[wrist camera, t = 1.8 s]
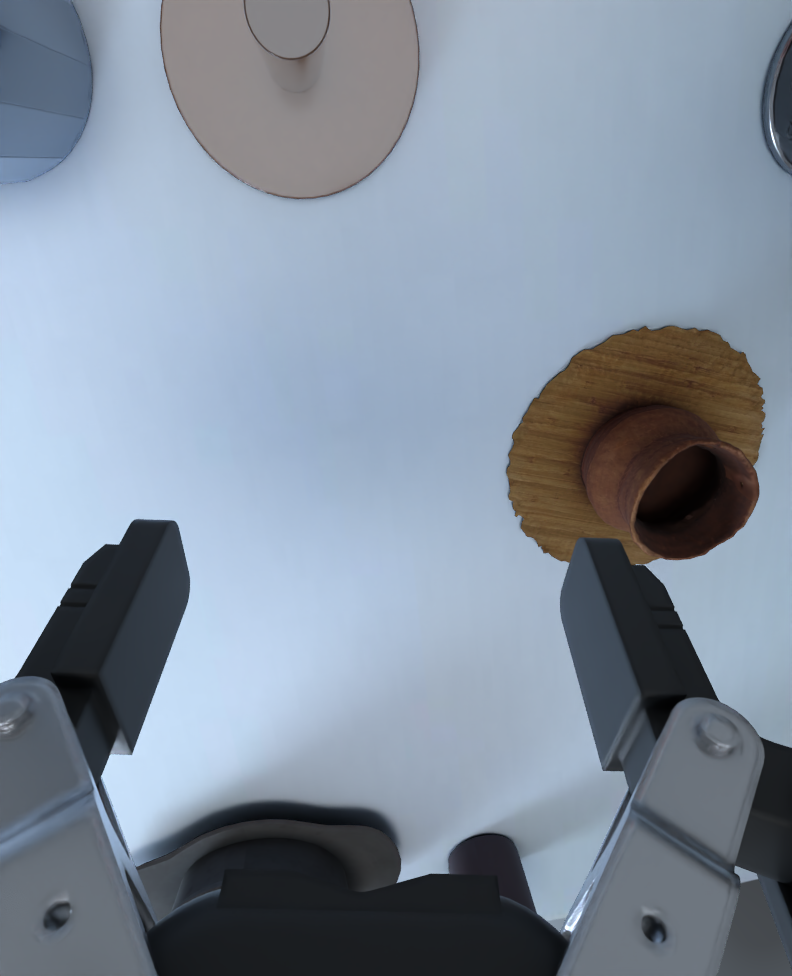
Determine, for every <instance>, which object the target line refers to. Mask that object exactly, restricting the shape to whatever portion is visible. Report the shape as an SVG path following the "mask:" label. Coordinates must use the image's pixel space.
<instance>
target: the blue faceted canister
mask: <svg viewBox="0 0 792 976" xmlns="http://www.w3.org/2000/svg"><path fill="white" fill-rule="evenodd" d="M91 97H92V70H91V60H90V55H89V50H88V45H87V41H86V37H85V34H84V31H83V28H82V25H81V22H80V20H79V17H78V15H77V13H76V10H75V8H74V6H73V4H72V1H71V0H0V184H6V183H17V182H27V181H30V180H32V179H33V178H35V177H38V176H40V175H42V174H44V173H46V172H47V171H49V170H51V169H52V168H54V167H55V166H56V165H58V164H59V163H60V162H61V161H62V160H63V159H64V158H65V157H66V156H67V155H68V154H69V153H70V152H71V151H72V149H73V148H74V146H75V145H76V143H77V142H78V140H79V138H80V136H81V134H82V132H83V130H84V127H85V125H86V121H87V118H88V114H89V111H90V104H91Z"/></svg>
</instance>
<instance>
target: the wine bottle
mask: <svg viewBox="0 0 792 976" xmlns="http://www.w3.org/2000/svg"><path fill="white" fill-rule="evenodd" d="M449 874H463V875H497V876H498V884H499V893H500V896H503V897H506V898H509V899H511V900H513V901H515V902H517V903H519V904H521V905H523V906H526V907H527V908H529V909H530V910H532V911H533V912H535V913H536V909H535V906H534V903H533V900H532V896H531V893H530V890H529V886H528V883H527V880H526V877H525V873H524V870H523V867H522V864H521V860H520V857H519V854H518V851H517V849H516V847H515V845H514V844H513V842H512V841H511V840H509V839H508V838H506V837H503V836H498V835H484V836H479V837H475V838H472V839H469V840H467V841H465V842H463V843H462V844H460V845H459V846H457V847H456V848H455V849H454V850H453V852H452V853H451V855H450V857H449ZM536 914H537V913H536Z"/></svg>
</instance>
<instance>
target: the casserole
mask: <svg viewBox="0 0 792 976" xmlns="http://www.w3.org/2000/svg"><path fill="white" fill-rule="evenodd" d="M136 869H137V872H138V874H139V877H140V879H141V881H142V884H143V886H144V888H145V891H146V893H147V895H148V898H149V900H150V902H151V905H152V907H153V910H154V912H155V915H156V918H157V920H158V922H159V921H160V920H161V919H163V918H164V917H165V916H167V915H168V914H170V913H171V912H172V911H174V910H175V909H176V908H178V907H180V906H182V905H184V904H185V903H187V902H189V901H191V900H192V899H194V898H197V897H199V896H202V895H204V894H206V893H209V892H212V891H215V890H219V889H221V886H222V881H223V876H224V871H225V869H258V870H293V871H296V872H299V873H302V874H305V875H308V876H311V877H314V878H317V879H320V880H323V881H326V882H329V883H332V884H335V885H338V886H341V887H344V888H347V889H350V890H353V891H357V892H366V891H371V890H374V889H378V888H381V887H385V886H389V885H392V884H396V882H397V880H398V877H399V874H400V871H401V858H400V855H399V852H398V849H397V847H396V845H395V844H394V843H393V841H392V840H391V838H390V837H388V836H387V835H386V834H384V833H383V832H382V831H381V830H377V829H374V828H371V827H368V826H361V825H322V824H315V823H308V822H301V821H294V820H287V819H264V820H255V821H247V822H241V823H237V824H233V825H229V826H225V827H221V828H218V829H216V830H213V831H210V832H208V833H205V834H203V835H201V836H199V837H197V838H195V839H194V840H192V841H190V842H188V843H187V844H185V845H183V846H181V847H180V848H178V849H176V850H175V851H173V852H171V853H169V854H167V855H165V856H162V857H160V858H157V859H155V860H153V861H150V862H148V863H145V864H143V865H140V866H138V867H136Z"/></svg>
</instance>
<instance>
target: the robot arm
mask: <svg viewBox="0 0 792 976" xmlns="http://www.w3.org/2000/svg"><path fill="white" fill-rule="evenodd" d="M763 122H764V130H765V135H766V139H767V142H768V145H769V148H770V150H771V152H772V154H773V156H774V157H775V159H776V160H777V162H778V163H779V164H780V165H781V166H782V167H783V168H784V169H785V170H786V171H787V172H788V173H790V174H791V175H792V24H791V26H790V27H789V29H788V30H787V32H786V34H785V35H784V37H783V39H782V41H781V43H780V45H779V47H778V49H777V52H776V54H775V56H774V59H773V62H772V64H771V67H770V70H769V74H768V77H767V82H766V86H765V92H764V100H763ZM189 592H190V576H189V571H188V567H187V562H186V558H185V553H184V549H183V545H182V540H181V536H180V531H179V528H178V525H177V523H176V522H175V521H170V520H144V519H136V520H134V521H133V522H132V523H131V524H130V526H129V528H128V529H127V531H126V533H125V535H124V537H123V539H122V541H121V542H120V544H119V545H111V544H105V545H104V546H103V547H102V548H100V549H99V550H98V551H97V552H96V553H94V554H93V555H92V556H91V557H90V558H89V559H87V560H86V561H85V562H84V563H83V565H82V566H81V568H80V570H79V571H78V573H77V575H76V576H75V578H74V580H73V581H72V583H71V588H70V589H68V590H67V592H66V593H65V595H64V597H63V598H62V600H61V605H60V607H59V606H58V607H57V609H56V610H55V612H54V614H53V615H52V617H51V619H50V620H49V622H48V624H47V625H46V627H45V629H44V631H43V632H42V634H41V636H40V637H39V639H38V641H37V642H36V644H35V646H34V648H33V649H32V651H31V653H30V654H29V656H28V658H27V659H26V661H25V663H24V664H23V666H22V668H21V670H20V671H19V673H18V674H17V676H16V677H15V678H14V679H11V680H8V681H5V682H3V683H0V976H717V974H718V971H719V967H720V964H721V960H722V956H723V952H724V949H725V945H726V941H727V938H728V934H729V930H730V926H731V923H732V919H733V915H734V912H735V907H736V904H737V900H738V895H739V891H740V877H739V876H738V875H737V874H735V873H734V867H735V866H738V867H741V868H743V869H746V870H749V871H751V872H754V873H757V876H758V879H759V881H760V884H761V886H762V889H763V892H764V895H765V897H766V900H767V903H768V906H769V908H770V911H771V914H772V916H773V919H774V922H775V925H776V927H777V930H778V933H779V935H780V938H781V941H782V944H783V947H784V949H785V952H786V955H787V957H788V960H789V963H790V966H791V968H792V748H789V747H786V746H783V745H780V744H777V743H774V742H771V741H768V740H766V739H763V738H761V737H759V735H758V734H757V732H756V731H755V729H754V728H753V726H752V725H751V724H750V723H749V722H748V721H747V720H746V719H745V718H744V717H743V716H742V715H741V714H739V713H738V712H737V711H735V710H734V709H732V708H731V707H729V706H727V705H725V704H723V703H721V702H720V701H719V700H718V698H717V696H716V694H715V692H714V690H713V688H712V685H711V683H710V681H709V679H708V677H707V675H706V673H705V671H704V669H703V666H702V664H701V662H700V660H699V658H698V656H697V654H696V652H695V649H694V647H693V645H692V643H691V641H690V639H689V637H688V635H687V633H686V630H683V624H682V622H681V620H680V618H679V616H678V614H677V611H674V605H673V603H672V601H671V599H670V597H669V595H668V592H667V590H666V588H665V586H664V585H663V584H662V583H661V582H660V581H659V580H658V579H657V578H656V577H655V576H654V574H653V573H652V572H651V571H650V570H649V569H648V568H647V567H646V566H643V565H631V563H630V561H629V559H628V556H627V554H626V552H625V549H624V547H623V545H622V543H621V541H620V540H618V539H611V538H585V537H581V538H579V539H578V540H577V542H576V544H575V547H574V550H573V554H572V557H571V560H570V563H569V567H568V570H567V573H566V577H565V580H564V583H563V586H562V590H561V596H560V612H561V619H562V623H563V626H564V630H565V634H566V637H567V641H568V645H569V648H570V652H571V656H572V659H573V663H574V667H575V670H576V674H577V678H578V681H579V685H580V689H581V692H582V696H583V700H584V703H585V707H586V711H587V714H588V718H589V722H590V725H591V729H592V733H593V736H594V740H595V744H596V747H597V751H598V755H599V758H600V762H601V766H602V769H603V771H624V774H625V777H626V780H627V784H628V787H629V788H628V790H627V792H626V793H625V795H624V798H623V800H622V802H621V804H620V806H619V808H618V811H617V813H616V815H615V817H614V819H613V821H612V824H611V826H610V828H609V830H608V832H607V834H606V837H605V839H604V841H603V843H602V845H601V847H600V849H599V852H598V854H597V856H596V858H595V860H594V862H593V865H592V867H591V869H590V871H589V873H588V875H587V878H586V880H585V882H584V884H583V886H582V888H581V890H580V892H579V894H578V896H577V898H576V899H575V901H574V903H573V905H572V907H571V909H570V911H569V913H568V916H567V918H566V920H565V922H564V924H563V926H562V928H561V930H560V932H559V931H558V930H556V928H554V927H553V926H552V925H551V924H550V923H548V922H547V921H546V920H545V919H543V918H542V917H541V916H539V915H538V914H536V913H535V912H533V911H532V910H530V909H529V908H527V907H526V906H523V905H521V904H519V903H517V902H515V901H513V900H511V899H509V898H506V897H503V896H500V893H499V884H498V876H497V875H463V874H428V875H425V876H421V877H417V878H414V879H410V880H407V881H403V882H399V883H396V884H392V885H389V886H385V887H381V888H378V889H374V890H371V891H366V892H357V891H353V890H350V889H347V888H344V887H341V886H338V885H335V884H332V883H329V882H326V881H323V880H320V879H317V878H314V877H311V876H308V875H305V874H302V873H299V872H296V871H293V870H258V869H225V871H224V876H223V881H222V886H221V889H219V890H215V891H212V892H209V893H206V894H204V895H202V896H199V897H197V898H194V899H192V900H191V901H189V902H187V903H185V904H184V905H182V906H180V907H178V908H176V909H175V910H174V911H172V912H171V913H170V914H168V915H167V916H165V917H164V918H163V919H161V920H160V921H159V922H158V920H157V918H156V915H155V912H154V910H153V907H152V905H151V902H150V900H149V898H148V895H147V893H146V891H145V888H144V886H143V884H142V881H141V879H140V877H139V874H138V872H137V869H136V867H135V864H134V862H133V859H132V856H131V854H130V851H129V848H128V845H127V843H126V840H125V837H124V835H123V832H122V829H121V827H120V824H119V821H118V819H117V816H116V813H115V811H114V808H113V805H112V803H111V800H110V797H109V795H108V792H107V789H106V787H105V784H104V781H103V779H102V777H101V775H102V773H103V770H104V768H105V765H106V763H107V760H108V758H109V755H110V754H116V755H132V753H133V750H134V747H135V745H136V742H137V739H138V736H139V734H140V731H141V728H142V726H143V723H144V720H145V717H146V715H147V712H148V709H149V707H150V704H151V701H152V698H153V696H154V693H155V690H156V688H157V685H158V682H159V679H160V677H161V674H162V671H163V669H164V666H165V663H166V660H167V658H168V655H169V652H170V650H171V647H172V644H173V641H174V639H175V636H176V633H177V631H178V628H179V625H180V622H181V620H182V617H183V614H184V612H185V609H186V606H187V603H188V598H189Z"/></svg>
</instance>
